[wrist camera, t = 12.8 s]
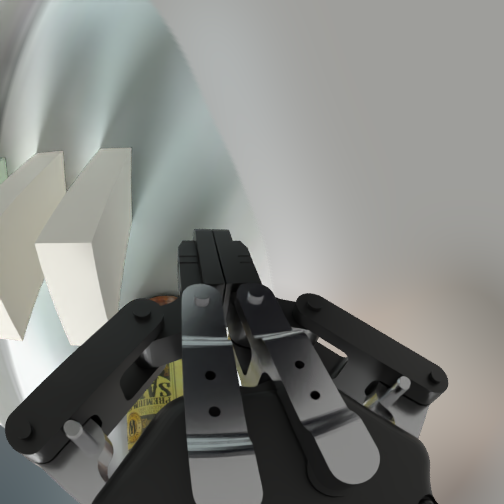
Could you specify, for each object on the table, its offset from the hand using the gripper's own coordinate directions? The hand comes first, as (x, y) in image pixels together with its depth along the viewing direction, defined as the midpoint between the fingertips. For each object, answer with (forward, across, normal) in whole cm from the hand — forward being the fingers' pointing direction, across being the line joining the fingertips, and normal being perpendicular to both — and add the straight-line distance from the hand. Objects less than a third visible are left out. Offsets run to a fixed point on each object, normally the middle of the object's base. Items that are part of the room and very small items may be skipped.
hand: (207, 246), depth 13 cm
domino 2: (+6, +5, 0) cm, 8 cm away
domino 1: (+6, +10, 0) cm, 12 cm away
